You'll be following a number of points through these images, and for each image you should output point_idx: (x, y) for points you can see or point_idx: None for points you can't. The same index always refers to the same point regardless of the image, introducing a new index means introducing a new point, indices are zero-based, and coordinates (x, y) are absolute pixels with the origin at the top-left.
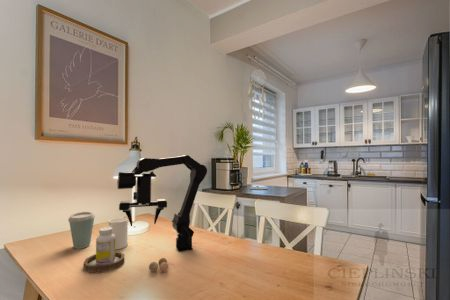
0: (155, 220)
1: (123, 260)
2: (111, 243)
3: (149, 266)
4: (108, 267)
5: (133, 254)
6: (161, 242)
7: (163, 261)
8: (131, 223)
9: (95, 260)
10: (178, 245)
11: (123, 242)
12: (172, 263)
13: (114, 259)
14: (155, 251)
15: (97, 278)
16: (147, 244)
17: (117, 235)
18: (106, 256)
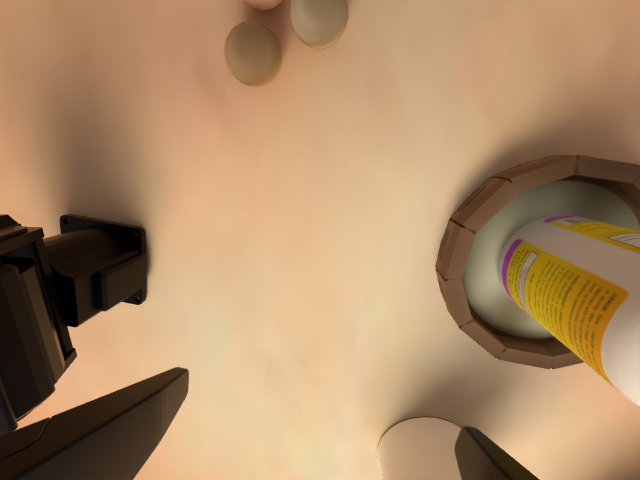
0: (140, 390)
1: (458, 220)
2: (638, 261)
3: (346, 2)
4: (562, 157)
5: (376, 313)
6: (213, 392)
7: (248, 22)
8: (494, 453)
9: None
10: (122, 255)
11: (410, 447)
12: (201, 84)
13: (508, 244)
14: (262, 295)
15: (624, 89)
16: (284, 402)
17: None
18: (598, 222)
